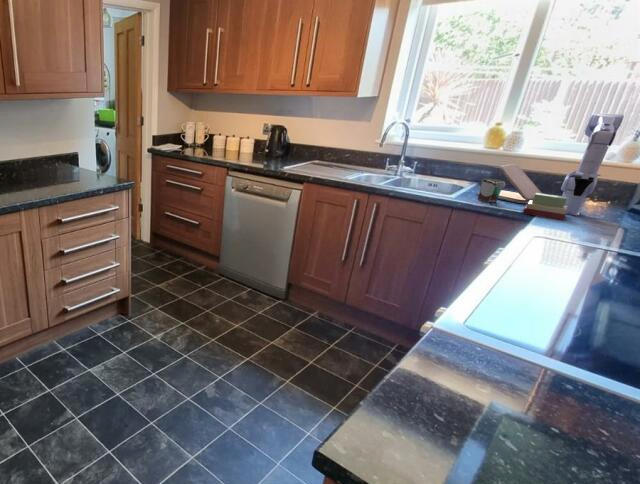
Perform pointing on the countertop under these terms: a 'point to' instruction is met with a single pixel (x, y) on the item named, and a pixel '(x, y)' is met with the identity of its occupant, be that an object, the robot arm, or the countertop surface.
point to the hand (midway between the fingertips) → (577, 194)
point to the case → (517, 185)
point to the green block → (549, 200)
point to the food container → (490, 190)
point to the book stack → (545, 211)
